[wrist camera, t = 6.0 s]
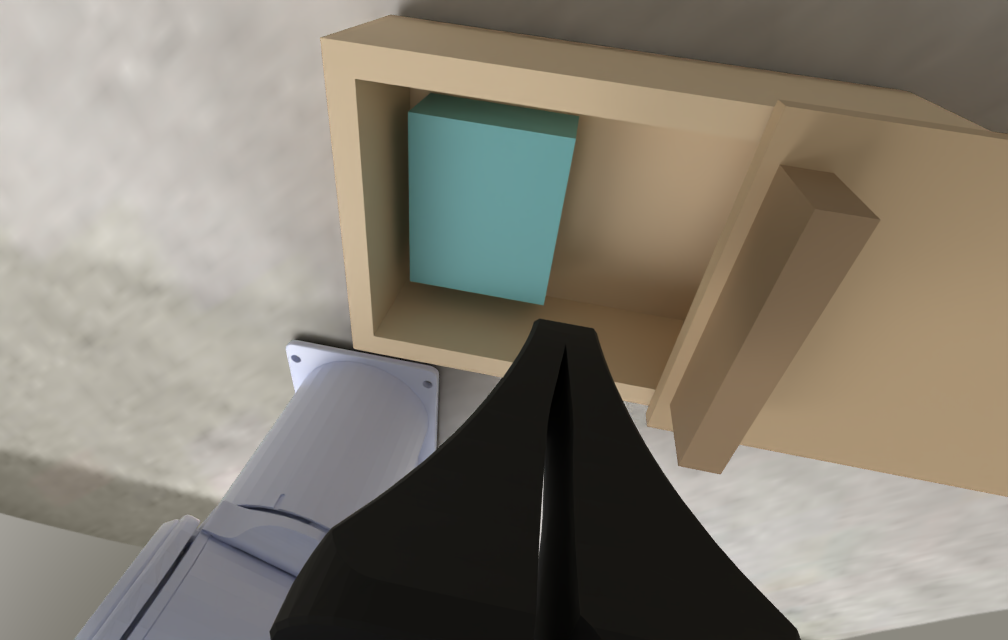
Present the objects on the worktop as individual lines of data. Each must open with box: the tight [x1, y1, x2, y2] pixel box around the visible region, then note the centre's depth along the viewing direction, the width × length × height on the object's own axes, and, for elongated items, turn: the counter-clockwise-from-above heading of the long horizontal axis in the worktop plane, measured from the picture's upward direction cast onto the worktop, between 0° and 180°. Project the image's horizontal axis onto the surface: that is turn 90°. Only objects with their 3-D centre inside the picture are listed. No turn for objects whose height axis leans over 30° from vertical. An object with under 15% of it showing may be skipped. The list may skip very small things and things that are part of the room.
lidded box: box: [320, 15, 992, 406], centre depth 16 cm, size 16×10×5 cm, turn 84°
